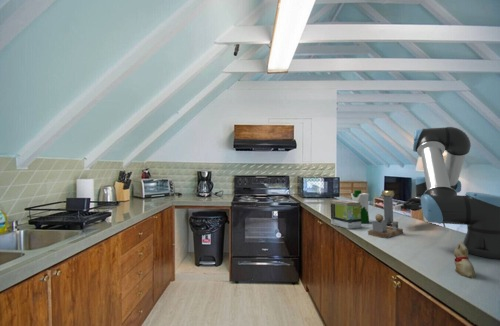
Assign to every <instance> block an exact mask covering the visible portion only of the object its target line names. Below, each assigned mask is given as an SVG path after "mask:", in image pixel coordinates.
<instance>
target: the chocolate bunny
mask: <svg viewBox="0 0 500 326" xmlns="http://www.w3.org/2000/svg"><path fill="white" fill-rule="evenodd" d="M453 251H454V252H453V255H454V257H455V258H454V265H455V269H454V271H455V272H456V273H457V274H458V275H460V276H463V277H465V278H469V279H473V278H475V277H476V270H475V267H474V265H473V263H472V261H470V258H469V253H468V249H467V248H466V246H465V245H464V243H463V241H461V242H459V243H458V244H457V247H456V248H455V249H453Z"/></svg>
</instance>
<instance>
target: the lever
mask: <svg viewBox="0 0 500 326" xmlns="http://www.w3.org/2000/svg"><path fill="white" fill-rule="evenodd" d="M381 196H382V197H383V213H384V214H383V220H384V221H385V222H387V223H388V224H392V222H394V207H393V206H394V203H393V198H394V197H395V191H394V190H382V191H381Z"/></svg>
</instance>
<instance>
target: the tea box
mask: <svg viewBox="0 0 500 326" xmlns="http://www.w3.org/2000/svg"><path fill="white" fill-rule="evenodd" d="M330 224H331V225H333V226H338V227H341V228H344V229H347V230H350V229H359V228H362V224H361V204H360V202H357V201H352V200H349V199H348V200H347V199H333V200H330Z"/></svg>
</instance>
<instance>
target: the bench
mask: <svg viewBox="0 0 500 326" xmlns="http://www.w3.org/2000/svg"><path fill="white" fill-rule="evenodd" d="M383 221H384V219H383ZM403 230H404V229H403V228H399V221H393V222H392V224H388V223H387V232H385V233H380V232H374V231H373V229H370V230H367V234H368V236H373V237H376V238H377V237H378V238H382V239H388V238H392V237H395V236H397V235H400V234H403V233H404V231H403Z"/></svg>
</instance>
